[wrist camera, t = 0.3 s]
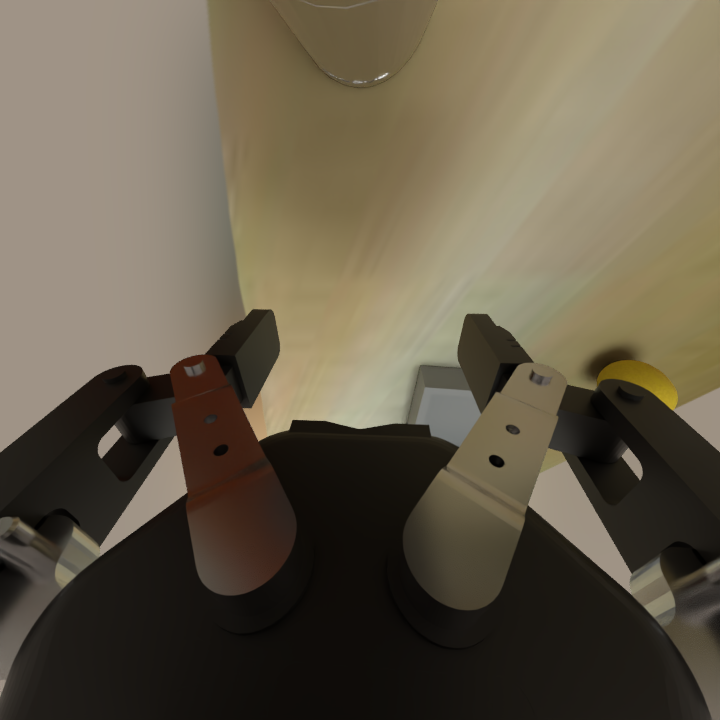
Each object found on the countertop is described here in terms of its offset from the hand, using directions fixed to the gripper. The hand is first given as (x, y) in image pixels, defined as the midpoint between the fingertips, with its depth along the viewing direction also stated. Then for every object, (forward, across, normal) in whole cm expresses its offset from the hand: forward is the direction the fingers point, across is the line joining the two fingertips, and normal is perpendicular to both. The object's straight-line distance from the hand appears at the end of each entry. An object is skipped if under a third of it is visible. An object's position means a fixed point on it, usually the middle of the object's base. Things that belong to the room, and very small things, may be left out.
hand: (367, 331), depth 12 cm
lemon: (+18, -28, +14) cm, 36 cm away
